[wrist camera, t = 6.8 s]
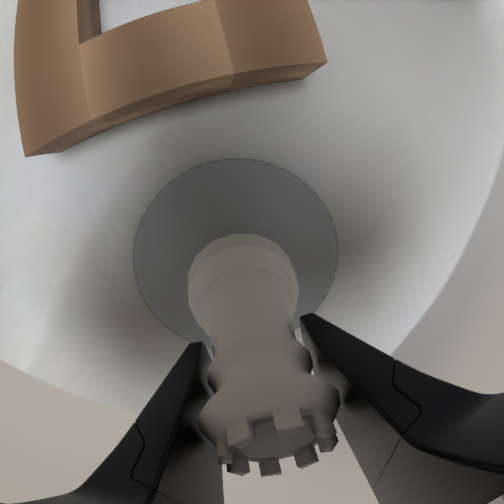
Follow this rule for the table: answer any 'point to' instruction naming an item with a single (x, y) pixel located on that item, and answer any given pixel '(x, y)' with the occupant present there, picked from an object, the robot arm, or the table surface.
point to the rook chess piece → (257, 359)
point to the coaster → (226, 223)
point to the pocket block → (147, 61)
